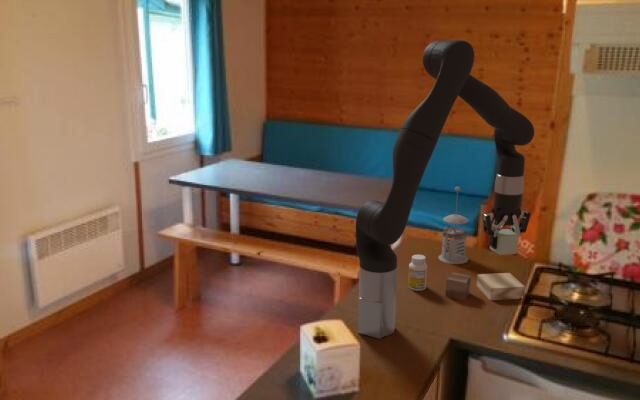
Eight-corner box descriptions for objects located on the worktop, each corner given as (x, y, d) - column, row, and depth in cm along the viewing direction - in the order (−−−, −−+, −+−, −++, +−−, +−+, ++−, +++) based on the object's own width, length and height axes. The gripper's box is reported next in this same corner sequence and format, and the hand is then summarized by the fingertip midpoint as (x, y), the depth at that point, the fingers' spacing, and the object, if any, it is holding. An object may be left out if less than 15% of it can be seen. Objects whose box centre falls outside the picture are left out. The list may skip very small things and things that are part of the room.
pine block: (489, 301, 161) (491, 288, 160) (476, 286, 170) (477, 274, 169) (523, 299, 162) (524, 286, 161) (508, 285, 172) (509, 272, 171)
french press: (473, 258, 192) (479, 186, 185) (455, 268, 183) (460, 193, 177) (447, 251, 198) (452, 181, 191) (429, 260, 190) (433, 187, 183)
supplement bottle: (413, 282, 173) (415, 252, 170) (429, 286, 170) (431, 256, 167) (404, 287, 169) (405, 257, 166) (420, 292, 166) (422, 261, 163)
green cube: (499, 255, 160) (500, 236, 158) (489, 248, 165) (491, 230, 163) (517, 253, 161) (518, 235, 159) (506, 246, 166) (508, 228, 164)
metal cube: (464, 300, 161) (465, 282, 159) (445, 296, 163) (446, 278, 162) (469, 293, 165) (471, 276, 164) (451, 289, 168) (452, 272, 166)
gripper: (491, 195, 153) (486, 254, 157) (539, 192, 156) (533, 250, 160) (478, 188, 160) (474, 244, 165) (524, 185, 163) (519, 241, 167)
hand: (503, 247), depth 162 cm, fingers closed on green cube, 5 cm apart
